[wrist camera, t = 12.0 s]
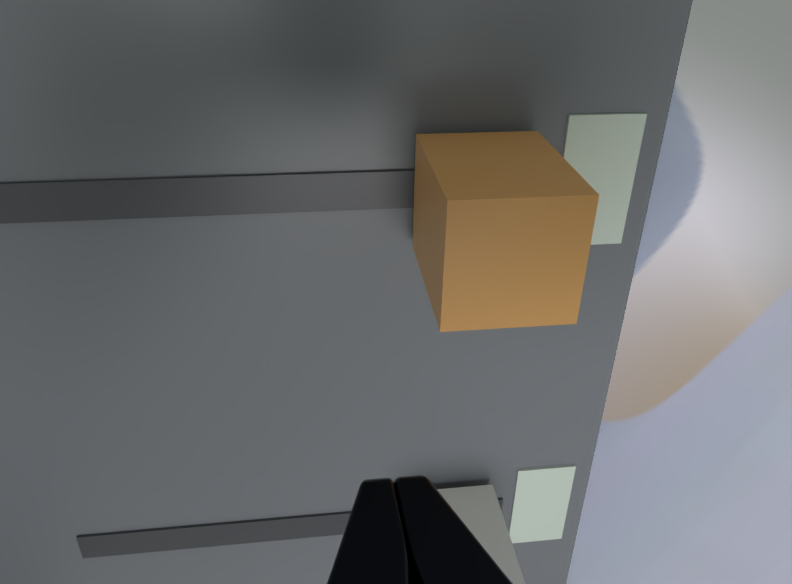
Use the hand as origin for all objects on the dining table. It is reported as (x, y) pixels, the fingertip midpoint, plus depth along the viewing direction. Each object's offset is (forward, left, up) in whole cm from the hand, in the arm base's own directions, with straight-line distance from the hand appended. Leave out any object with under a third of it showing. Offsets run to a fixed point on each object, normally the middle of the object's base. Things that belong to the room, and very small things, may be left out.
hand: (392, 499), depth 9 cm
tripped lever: (+3, 0, -10) cm, 10 cm away
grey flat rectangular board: (-2, -6, -13) cm, 14 cm away
